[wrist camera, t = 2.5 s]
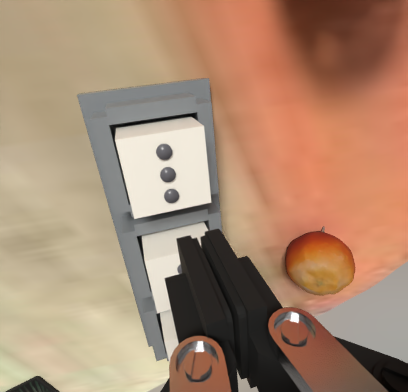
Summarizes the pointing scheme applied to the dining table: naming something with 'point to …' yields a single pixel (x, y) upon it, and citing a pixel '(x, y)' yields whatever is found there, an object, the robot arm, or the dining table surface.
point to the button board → (115, 183)
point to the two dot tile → (166, 258)
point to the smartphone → (34, 386)
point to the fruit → (320, 263)
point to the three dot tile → (164, 165)
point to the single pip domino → (169, 332)
